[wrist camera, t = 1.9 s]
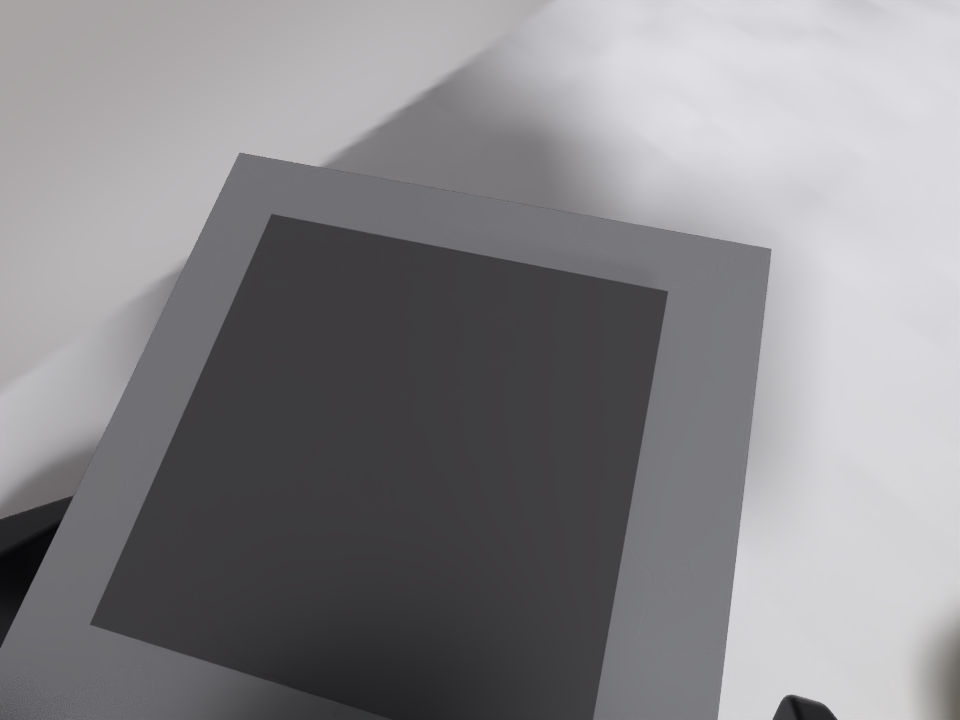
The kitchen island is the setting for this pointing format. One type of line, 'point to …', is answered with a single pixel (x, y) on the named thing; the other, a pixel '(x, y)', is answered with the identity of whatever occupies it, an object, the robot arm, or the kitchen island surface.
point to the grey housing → (409, 471)
